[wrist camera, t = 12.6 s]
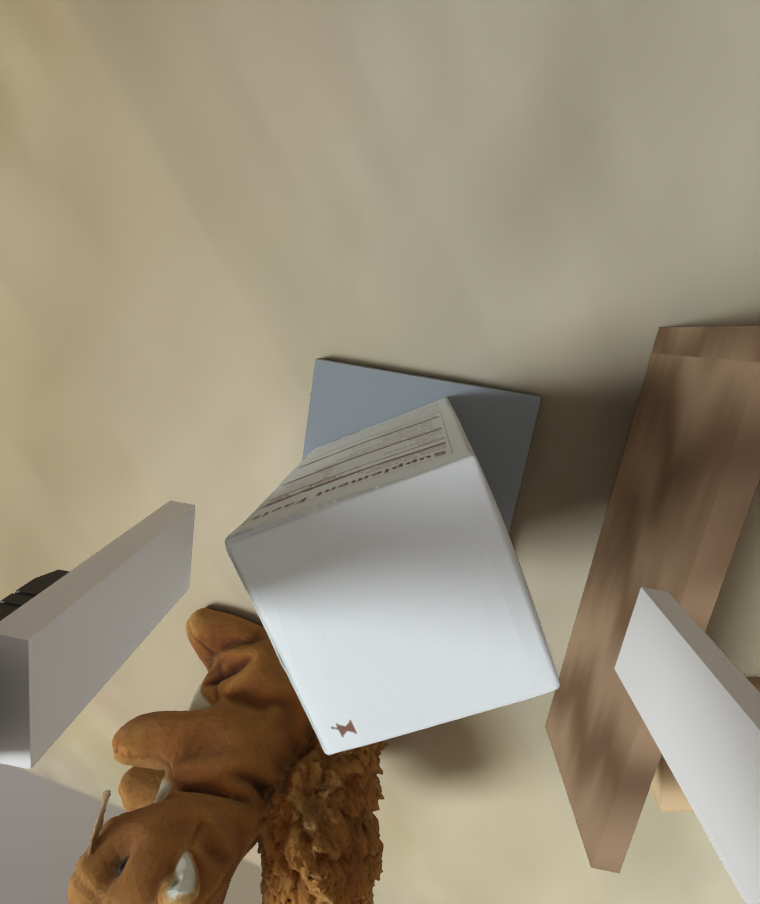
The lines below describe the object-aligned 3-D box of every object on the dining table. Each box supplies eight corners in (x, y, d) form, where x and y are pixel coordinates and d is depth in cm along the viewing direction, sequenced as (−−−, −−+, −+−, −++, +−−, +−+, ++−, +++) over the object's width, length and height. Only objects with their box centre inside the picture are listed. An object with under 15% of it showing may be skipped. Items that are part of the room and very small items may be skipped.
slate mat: (318, 358, 26) (315, 359, 25) (537, 395, 25) (541, 397, 24) (292, 558, 28) (288, 565, 27) (490, 594, 28) (492, 602, 27)
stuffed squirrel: (188, 596, 29) (10, 801, 16) (424, 668, 29) (430, 930, 16) (157, 735, 32) (-20, 1008, 19) (375, 802, 32) (346, 1121, 19)
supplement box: (498, 527, 26) (570, 700, 14) (363, 570, 27) (319, 768, 15) (450, 391, 25) (482, 449, 12) (310, 443, 26) (212, 544, 14)
